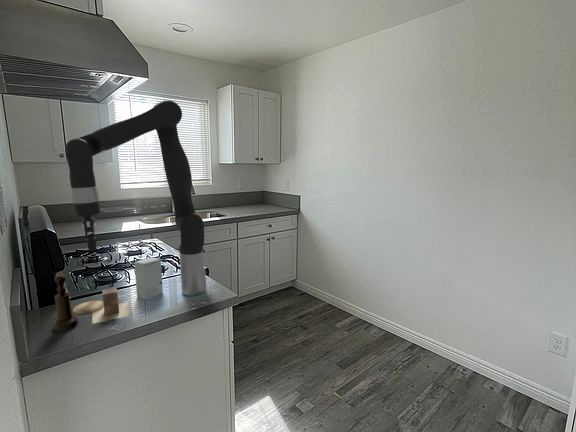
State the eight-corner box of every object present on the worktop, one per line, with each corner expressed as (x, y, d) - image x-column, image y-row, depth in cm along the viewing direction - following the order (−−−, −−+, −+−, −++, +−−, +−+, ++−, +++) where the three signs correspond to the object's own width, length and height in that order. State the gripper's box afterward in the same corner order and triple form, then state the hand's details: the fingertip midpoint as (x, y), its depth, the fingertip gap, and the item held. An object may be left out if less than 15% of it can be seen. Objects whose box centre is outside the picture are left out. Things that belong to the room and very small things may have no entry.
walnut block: (118, 308, 118) (116, 287, 117) (119, 313, 115) (117, 292, 113) (104, 310, 116) (102, 290, 115) (104, 316, 112) (102, 294, 111)
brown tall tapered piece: (50, 327, 105) (43, 275, 102) (72, 319, 110) (66, 269, 107) (59, 333, 102) (52, 279, 98) (81, 325, 107) (75, 273, 104)
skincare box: (146, 300, 125) (143, 264, 122) (136, 297, 128) (133, 261, 125) (164, 293, 132) (161, 258, 129) (154, 290, 135) (151, 256, 132)
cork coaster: (104, 300, 125) (104, 298, 125) (105, 310, 117) (105, 309, 117) (74, 305, 120) (73, 304, 120) (72, 317, 112) (72, 315, 112)
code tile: (129, 302, 123) (128, 301, 123) (131, 315, 113) (131, 315, 113) (92, 309, 117) (92, 309, 117) (92, 324, 107) (92, 323, 107)
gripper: (98, 202, 103) (105, 250, 106) (98, 197, 115) (105, 241, 118) (70, 204, 99) (78, 254, 102) (73, 199, 111) (81, 244, 114)
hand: (92, 247), depth 110 cm, fingers open, 8 cm apart
